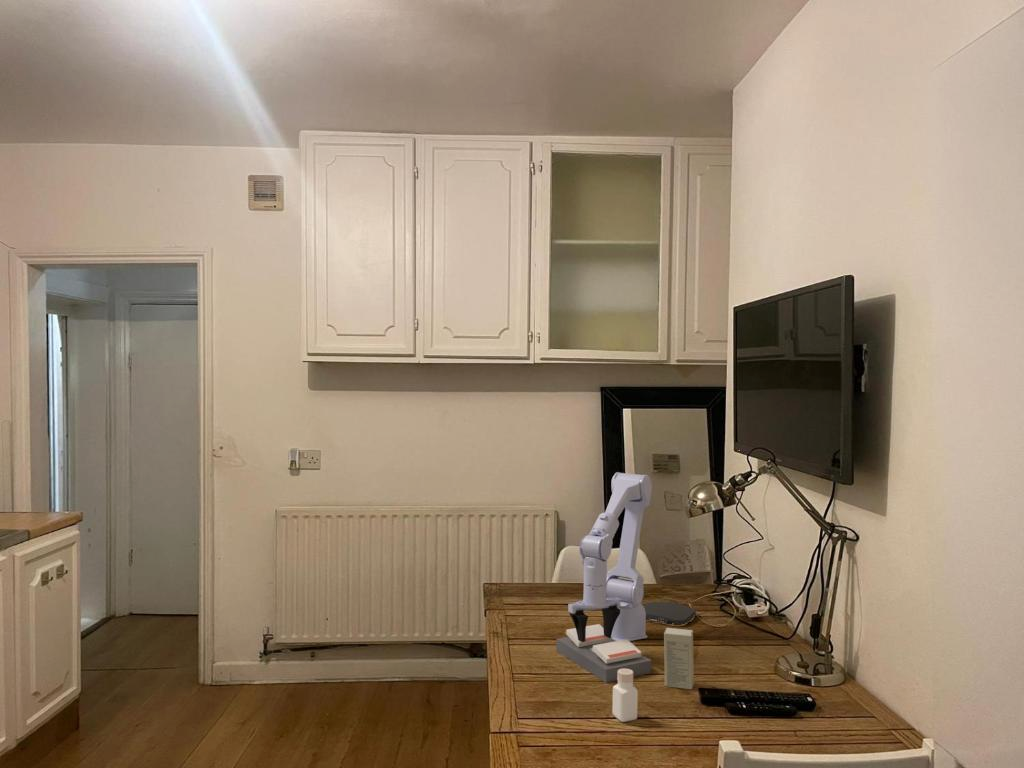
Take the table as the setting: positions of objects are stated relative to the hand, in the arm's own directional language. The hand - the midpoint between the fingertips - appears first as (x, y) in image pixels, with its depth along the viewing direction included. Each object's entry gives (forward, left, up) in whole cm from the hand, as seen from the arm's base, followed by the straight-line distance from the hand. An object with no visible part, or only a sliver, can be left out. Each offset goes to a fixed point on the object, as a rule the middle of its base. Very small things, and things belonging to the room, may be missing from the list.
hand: (594, 638), depth 181 cm
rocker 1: (0, -3, -1) cm, 3 cm away
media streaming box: (-37, -17, -5) cm, 41 cm away
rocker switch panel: (0, +3, -5) cm, 6 cm away
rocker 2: (0, +9, -1) cm, 9 cm away
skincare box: (-8, +22, -5) cm, 24 cm away
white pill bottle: (+13, +30, -5) cm, 33 cm away
